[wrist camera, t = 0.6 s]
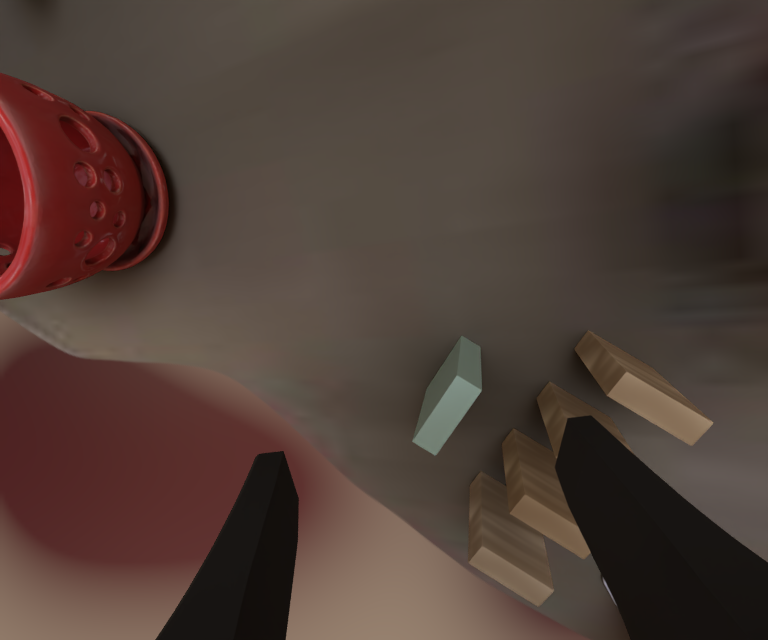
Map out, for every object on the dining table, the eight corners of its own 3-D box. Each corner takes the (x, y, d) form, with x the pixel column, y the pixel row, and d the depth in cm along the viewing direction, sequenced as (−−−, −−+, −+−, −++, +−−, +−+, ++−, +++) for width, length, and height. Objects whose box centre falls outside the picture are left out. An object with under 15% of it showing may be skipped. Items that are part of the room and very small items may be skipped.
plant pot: (158, 85, 32) (-18, 16, 20) (203, 263, 35) (69, 290, 23) (20, 122, 35) (-202, 81, 23) (71, 284, 38) (-105, 317, 26)
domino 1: (549, 381, 31) (572, 436, 24) (610, 417, 31) (654, 485, 23) (536, 398, 32) (555, 457, 24) (596, 434, 32) (634, 505, 24)
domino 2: (513, 428, 33) (525, 494, 25) (572, 463, 32) (601, 541, 25) (501, 443, 33) (509, 513, 26) (558, 478, 33) (584, 559, 25)
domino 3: (480, 470, 34) (482, 545, 26) (536, 505, 34) (554, 590, 26) (469, 485, 35) (468, 562, 27) (524, 519, 34) (538, 607, 27)
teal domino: (480, 346, 32) (482, 390, 24) (444, 399, 33) (435, 455, 26) (461, 335, 32) (456, 375, 24) (426, 388, 33) (412, 441, 26)
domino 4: (588, 330, 30) (626, 371, 22) (652, 368, 30) (713, 423, 22) (573, 348, 30) (606, 395, 23) (637, 386, 30) (691, 446, 23)
